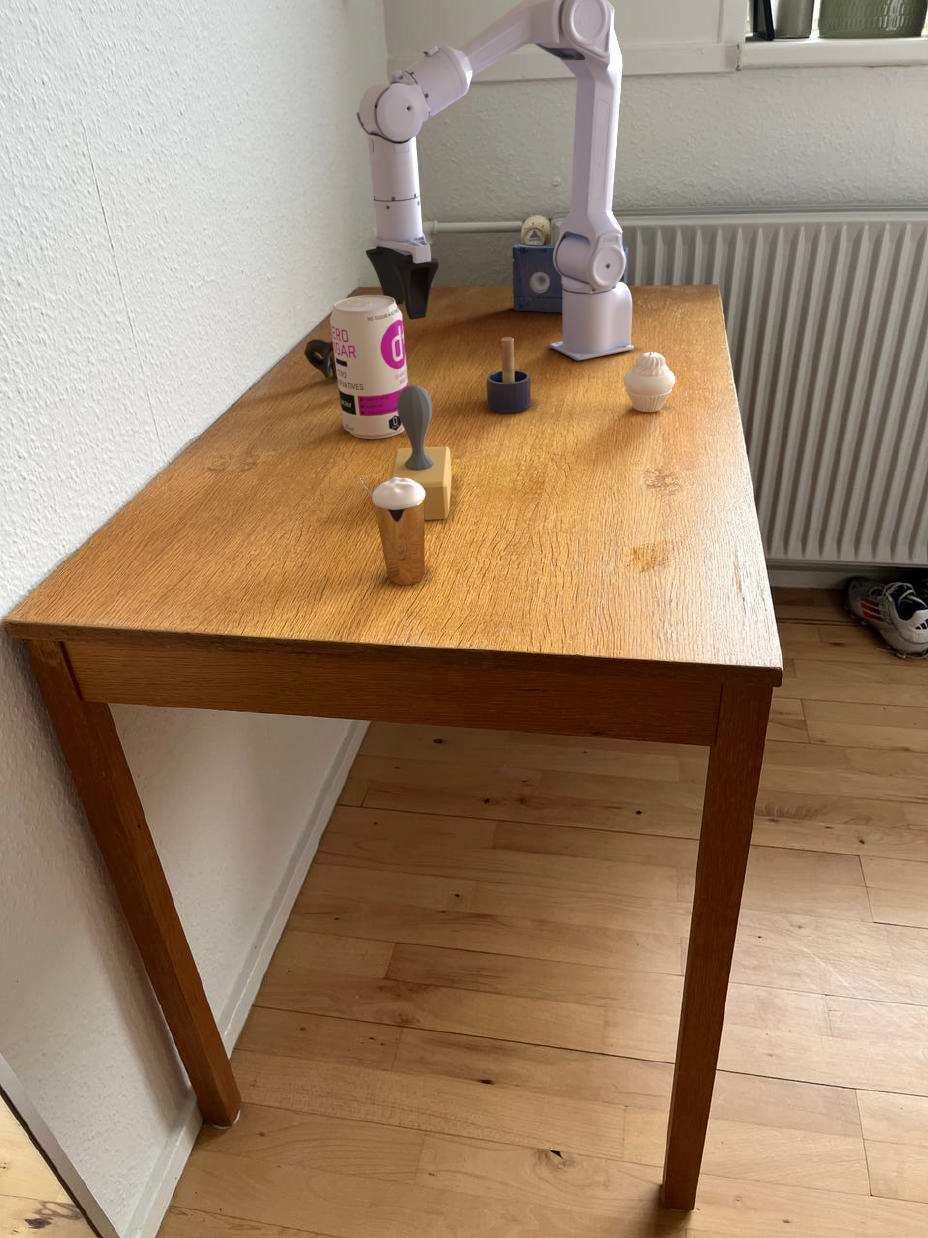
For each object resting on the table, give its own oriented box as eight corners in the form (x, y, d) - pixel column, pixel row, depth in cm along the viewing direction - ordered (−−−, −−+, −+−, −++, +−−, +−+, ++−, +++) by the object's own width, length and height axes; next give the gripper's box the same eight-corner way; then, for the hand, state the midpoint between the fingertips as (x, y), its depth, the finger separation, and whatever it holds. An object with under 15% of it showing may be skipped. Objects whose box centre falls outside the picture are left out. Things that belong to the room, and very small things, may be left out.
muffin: (679, 402, 118) (684, 346, 114) (664, 419, 114) (667, 362, 110) (632, 396, 121) (634, 341, 117) (614, 413, 116) (617, 356, 112)
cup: (518, 395, 123) (517, 366, 121) (538, 408, 119) (538, 378, 117) (480, 403, 121) (479, 374, 119) (499, 416, 117) (498, 386, 115)
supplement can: (422, 419, 118) (412, 295, 110) (390, 444, 111) (377, 314, 103) (365, 412, 121) (352, 291, 113) (331, 436, 115) (314, 310, 106)
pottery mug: (391, 369, 136) (398, 326, 129) (383, 419, 131) (391, 377, 124) (306, 353, 134) (310, 308, 127) (296, 403, 130) (299, 359, 123)
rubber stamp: (398, 479, 103) (388, 370, 97) (451, 477, 103) (444, 368, 96) (390, 521, 95) (378, 405, 88) (448, 518, 95) (440, 402, 88)
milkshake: (371, 566, 87) (360, 465, 82) (430, 561, 87) (422, 460, 82) (372, 592, 83) (359, 488, 78) (433, 587, 84) (424, 482, 78)
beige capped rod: (513, 397, 121) (511, 334, 117) (523, 403, 119) (521, 339, 115) (495, 401, 121) (492, 337, 116) (504, 407, 119) (502, 343, 114)
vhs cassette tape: (626, 310, 154) (629, 245, 148) (622, 315, 151) (624, 250, 146) (518, 305, 160) (517, 242, 154) (512, 310, 157) (511, 246, 152)
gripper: (345, 193, 120) (357, 303, 127) (387, 209, 108) (397, 329, 116) (397, 186, 122) (406, 295, 129) (443, 201, 111) (450, 319, 118)
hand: (406, 311), depth 123 cm, fingers open, 7 cm apart
